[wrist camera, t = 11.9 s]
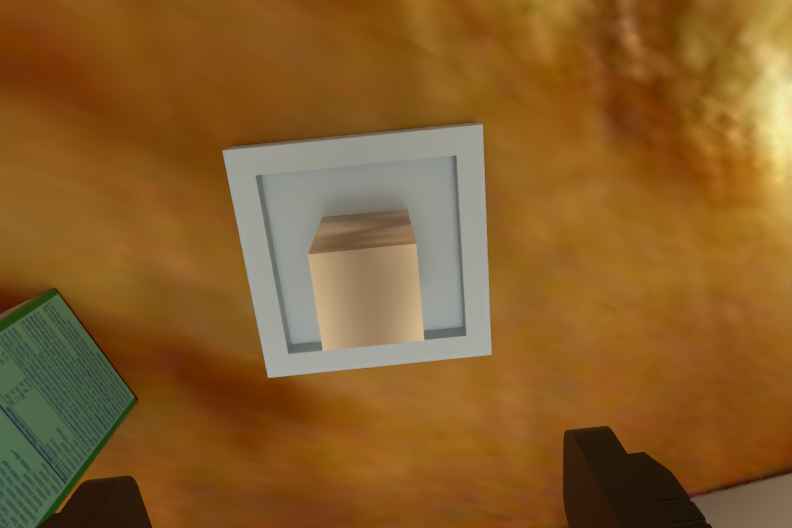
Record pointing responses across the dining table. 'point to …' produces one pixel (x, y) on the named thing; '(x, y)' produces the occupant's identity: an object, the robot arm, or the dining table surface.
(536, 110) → the dining table surface
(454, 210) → the tray
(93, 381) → the milk carton
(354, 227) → the maple block
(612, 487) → the robot arm
